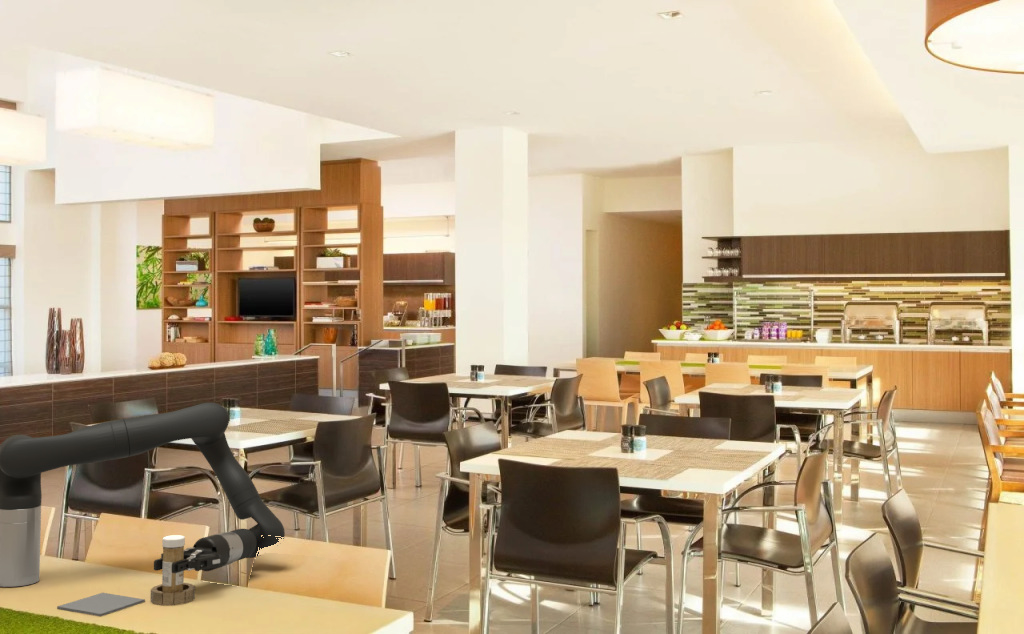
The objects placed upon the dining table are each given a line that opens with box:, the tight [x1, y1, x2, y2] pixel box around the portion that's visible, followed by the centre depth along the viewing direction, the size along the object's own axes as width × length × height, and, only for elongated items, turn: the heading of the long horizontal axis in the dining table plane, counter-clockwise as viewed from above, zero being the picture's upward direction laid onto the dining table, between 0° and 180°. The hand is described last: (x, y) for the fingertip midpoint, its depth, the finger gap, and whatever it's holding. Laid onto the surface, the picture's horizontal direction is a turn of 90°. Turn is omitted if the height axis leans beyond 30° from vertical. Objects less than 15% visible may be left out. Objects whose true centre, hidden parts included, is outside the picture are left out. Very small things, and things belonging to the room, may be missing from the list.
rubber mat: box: [56, 592, 146, 617], centre depth 203 cm, size 12×12×1 cm
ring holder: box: [149, 582, 196, 606], centre depth 209 cm, size 9×9×2 cm
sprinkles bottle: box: [161, 534, 186, 592], centre depth 209 cm, size 5×5×13 cm
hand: (164, 566), depth 206 cm, fingers closed on sprinkles bottle, 4 cm apart
